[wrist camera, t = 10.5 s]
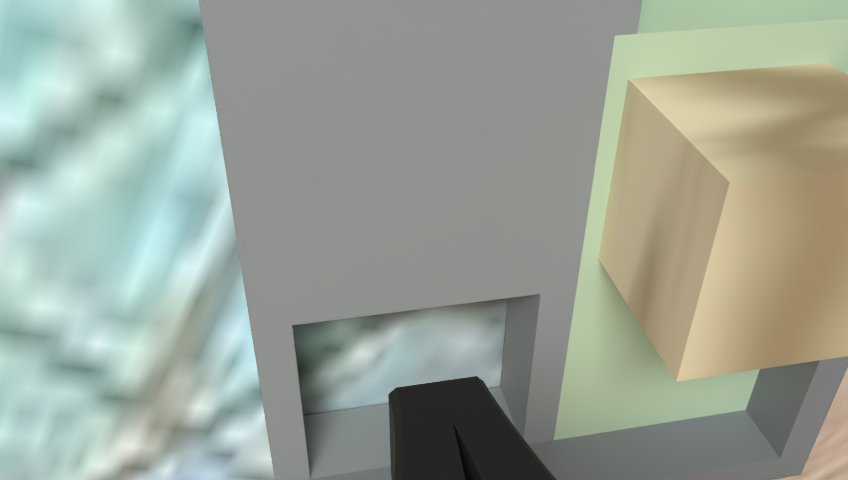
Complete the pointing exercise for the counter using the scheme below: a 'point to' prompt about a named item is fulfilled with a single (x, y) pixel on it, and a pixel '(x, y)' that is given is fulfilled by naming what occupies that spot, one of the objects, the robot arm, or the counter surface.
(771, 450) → the grey shallow tray piece
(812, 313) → the maple block
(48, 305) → the counter surface
